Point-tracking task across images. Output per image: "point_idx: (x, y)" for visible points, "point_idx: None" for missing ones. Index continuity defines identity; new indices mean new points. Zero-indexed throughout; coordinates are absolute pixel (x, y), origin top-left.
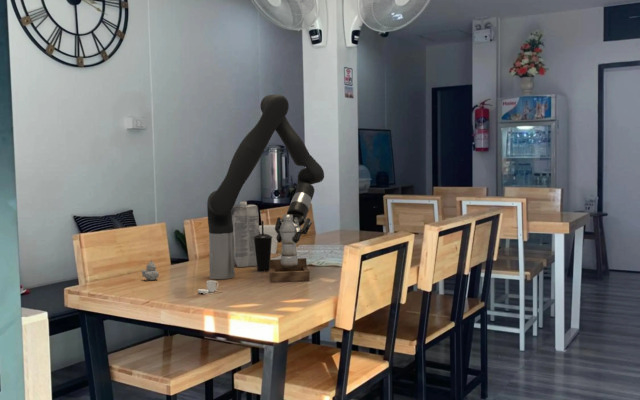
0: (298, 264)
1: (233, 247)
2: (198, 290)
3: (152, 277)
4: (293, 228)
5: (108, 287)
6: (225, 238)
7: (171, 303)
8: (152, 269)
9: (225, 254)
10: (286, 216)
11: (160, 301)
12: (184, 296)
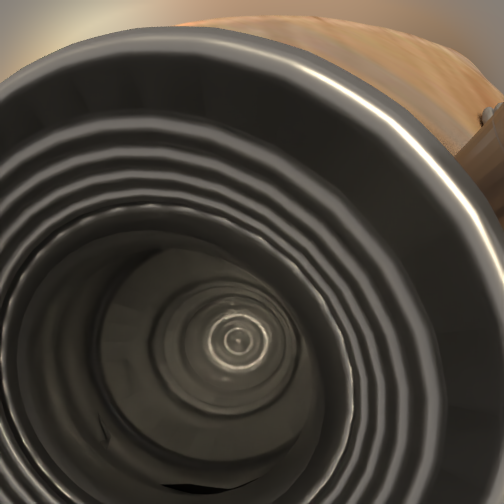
0: None
1: (495, 190)
2: None
3: (482, 116)
4: (68, 315)
5: (457, 69)
6: (500, 116)
7: (274, 19)
8: (494, 110)
9: (463, 155)
10: (2, 135)
11: (303, 20)
12: (306, 42)
